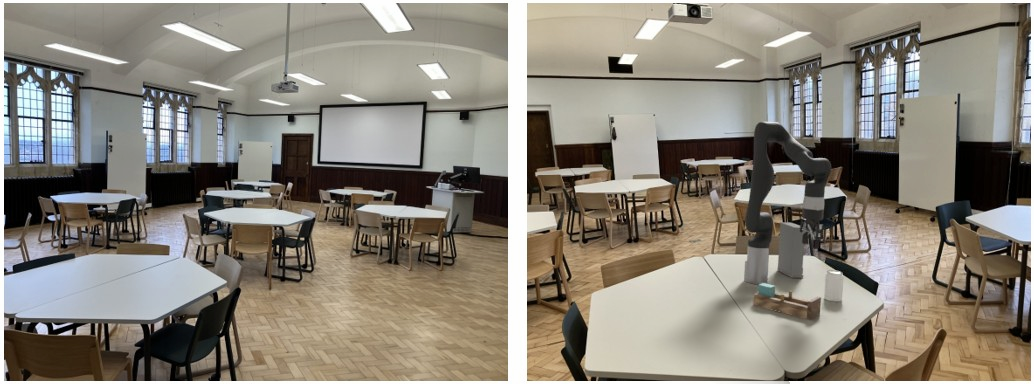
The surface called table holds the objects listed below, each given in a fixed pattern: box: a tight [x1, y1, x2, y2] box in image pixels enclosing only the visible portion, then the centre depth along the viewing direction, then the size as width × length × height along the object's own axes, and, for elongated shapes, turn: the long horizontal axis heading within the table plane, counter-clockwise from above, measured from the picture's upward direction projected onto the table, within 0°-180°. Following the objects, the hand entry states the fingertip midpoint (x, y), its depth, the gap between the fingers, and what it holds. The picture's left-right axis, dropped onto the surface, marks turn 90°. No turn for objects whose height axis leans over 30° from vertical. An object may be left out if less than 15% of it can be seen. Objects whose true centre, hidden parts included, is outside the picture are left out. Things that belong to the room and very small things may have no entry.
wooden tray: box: [752, 290, 822, 321], centre depth 208 cm, size 22×9×7 cm, turn 39°
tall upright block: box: [776, 221, 805, 279], centre depth 257 cm, size 14×6×25 cm, turn 179°
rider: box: [757, 283, 776, 298], centre depth 214 cm, size 5×4×5 cm
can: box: [823, 269, 844, 303], centre depth 219 cm, size 6×6×12 cm
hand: (810, 246), depth 213 cm, fingers open, 8 cm apart
